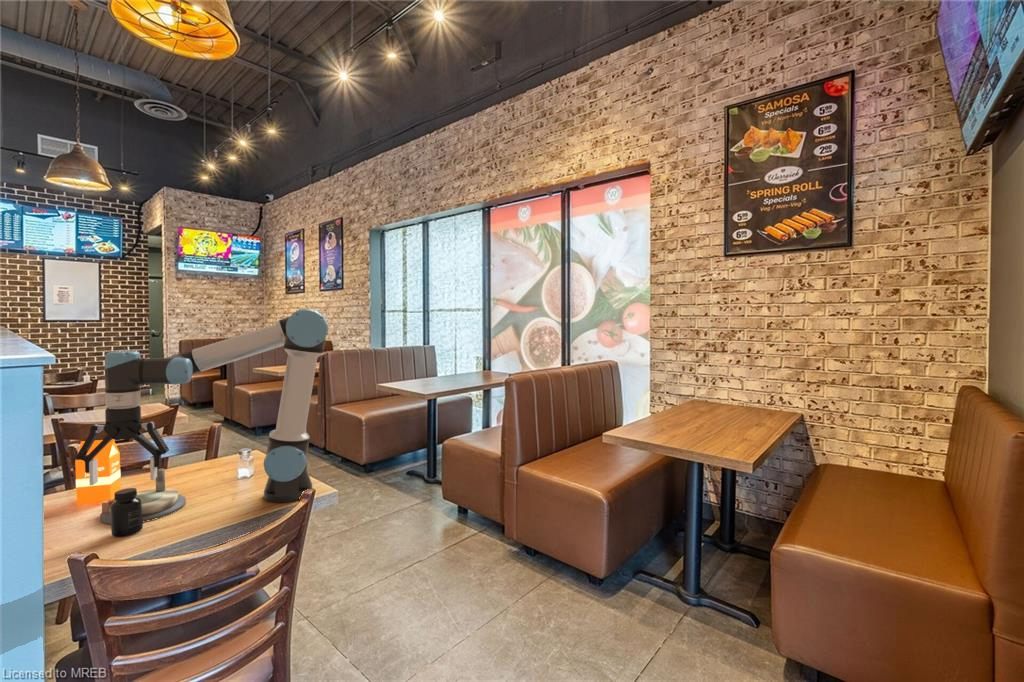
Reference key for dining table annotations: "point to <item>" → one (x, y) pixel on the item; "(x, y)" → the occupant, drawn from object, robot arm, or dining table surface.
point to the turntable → (155, 496)
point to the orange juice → (99, 475)
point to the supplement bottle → (126, 513)
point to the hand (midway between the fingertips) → (124, 481)
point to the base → (106, 518)
